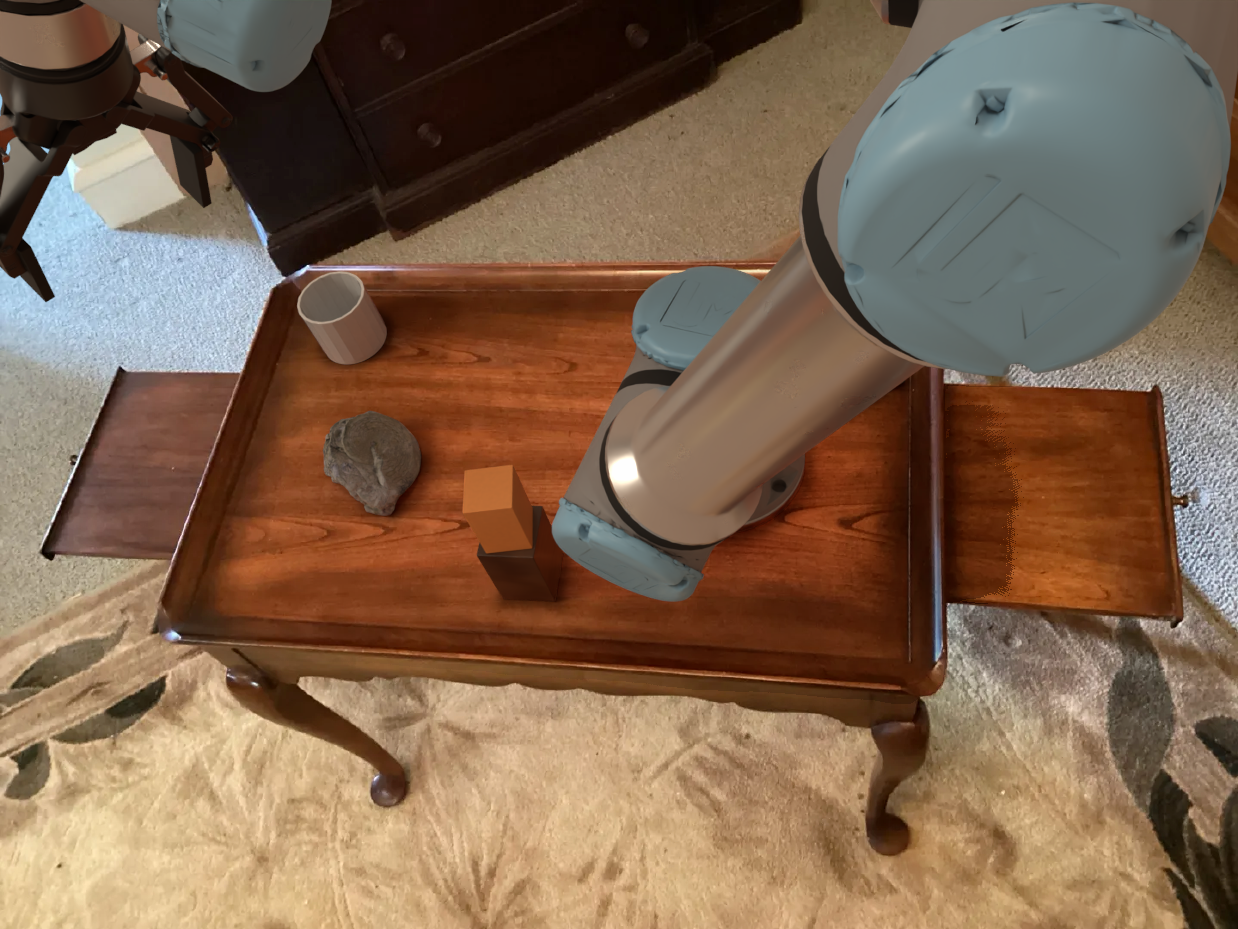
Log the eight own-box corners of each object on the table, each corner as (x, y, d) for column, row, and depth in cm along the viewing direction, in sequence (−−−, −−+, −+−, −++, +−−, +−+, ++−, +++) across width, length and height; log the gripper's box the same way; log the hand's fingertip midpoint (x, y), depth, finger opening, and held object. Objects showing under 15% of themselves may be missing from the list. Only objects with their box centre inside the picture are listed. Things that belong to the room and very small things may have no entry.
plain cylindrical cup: (389, 309, 110) (367, 266, 105) (384, 359, 106) (360, 318, 101) (328, 318, 111) (302, 276, 105) (320, 368, 107) (292, 327, 101)
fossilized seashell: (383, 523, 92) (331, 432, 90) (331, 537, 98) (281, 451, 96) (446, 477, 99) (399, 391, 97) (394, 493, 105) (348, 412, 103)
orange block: (532, 507, 83) (513, 464, 77) (532, 548, 80) (512, 507, 75) (487, 512, 83) (464, 470, 77) (486, 553, 81) (462, 513, 75)
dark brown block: (563, 552, 90) (542, 505, 83) (555, 602, 88) (533, 557, 80) (512, 551, 91) (487, 503, 84) (503, 599, 88) (476, 555, 81)
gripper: (191, -102, 60) (222, 128, 79) (-227, 75, 48) (-73, 293, 67) (274, -21, 59) (286, 191, 78) (-128, 176, 48) (-1, 367, 67)
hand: (120, 238), depth 73 cm, fingers open, 13 cm apart
